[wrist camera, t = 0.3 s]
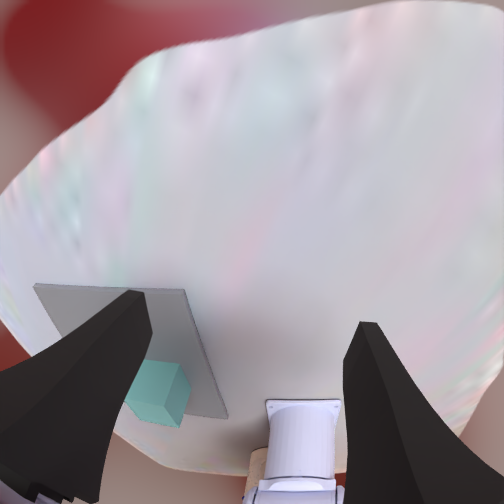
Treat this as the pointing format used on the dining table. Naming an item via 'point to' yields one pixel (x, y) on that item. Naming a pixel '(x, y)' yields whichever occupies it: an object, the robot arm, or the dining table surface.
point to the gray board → (163, 339)
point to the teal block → (159, 393)
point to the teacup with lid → (256, 468)
